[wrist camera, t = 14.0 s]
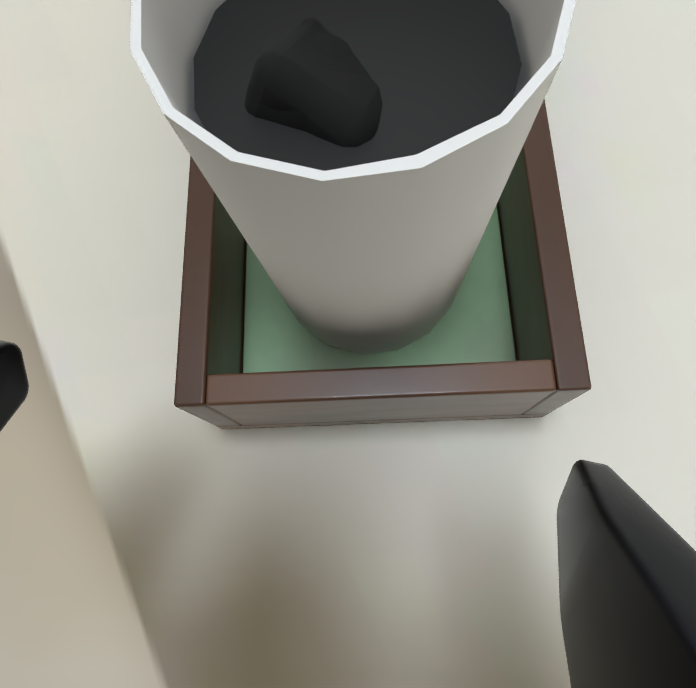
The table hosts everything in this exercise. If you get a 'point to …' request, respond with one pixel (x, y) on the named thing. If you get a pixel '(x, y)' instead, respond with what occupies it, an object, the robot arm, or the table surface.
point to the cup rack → (392, 366)
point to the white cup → (355, 139)
